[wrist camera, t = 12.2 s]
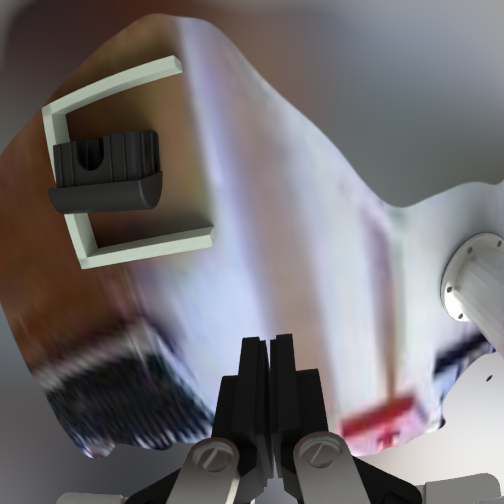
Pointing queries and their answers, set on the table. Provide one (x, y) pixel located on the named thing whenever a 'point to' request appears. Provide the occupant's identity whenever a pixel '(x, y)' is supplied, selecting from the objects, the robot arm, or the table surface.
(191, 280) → the table surface
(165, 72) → the holder
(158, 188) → the end cap
